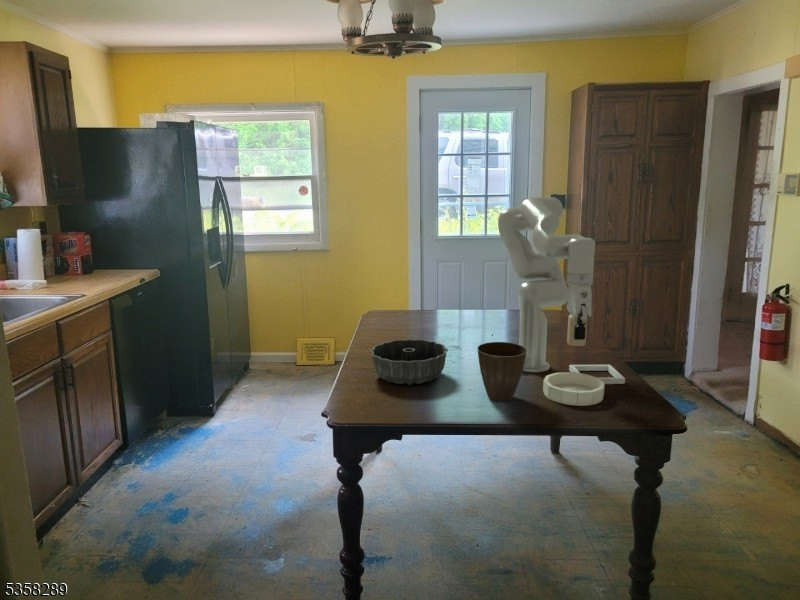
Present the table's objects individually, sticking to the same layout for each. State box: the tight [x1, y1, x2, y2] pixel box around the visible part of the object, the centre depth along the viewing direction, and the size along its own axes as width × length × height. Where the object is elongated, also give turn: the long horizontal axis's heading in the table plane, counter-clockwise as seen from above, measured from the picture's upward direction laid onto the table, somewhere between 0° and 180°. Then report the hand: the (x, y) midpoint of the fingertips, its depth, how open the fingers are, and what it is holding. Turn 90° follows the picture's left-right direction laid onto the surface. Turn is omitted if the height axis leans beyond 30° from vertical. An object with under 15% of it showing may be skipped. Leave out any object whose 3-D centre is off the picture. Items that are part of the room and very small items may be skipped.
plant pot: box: [477, 341, 527, 403], centre depth 180 cm, size 15×15×16 cm
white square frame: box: [568, 364, 626, 385], centre depth 200 cm, size 14×14×2 cm
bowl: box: [542, 371, 606, 407], centre depth 184 cm, size 18×18×4 cm
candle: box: [566, 314, 588, 347], centre depth 180 cm, size 6×6×10 cm
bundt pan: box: [369, 338, 449, 386], centre depth 201 cm, size 26×26×10 cm
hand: (576, 335), depth 180 cm, fingers closed on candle, 5 cm apart
